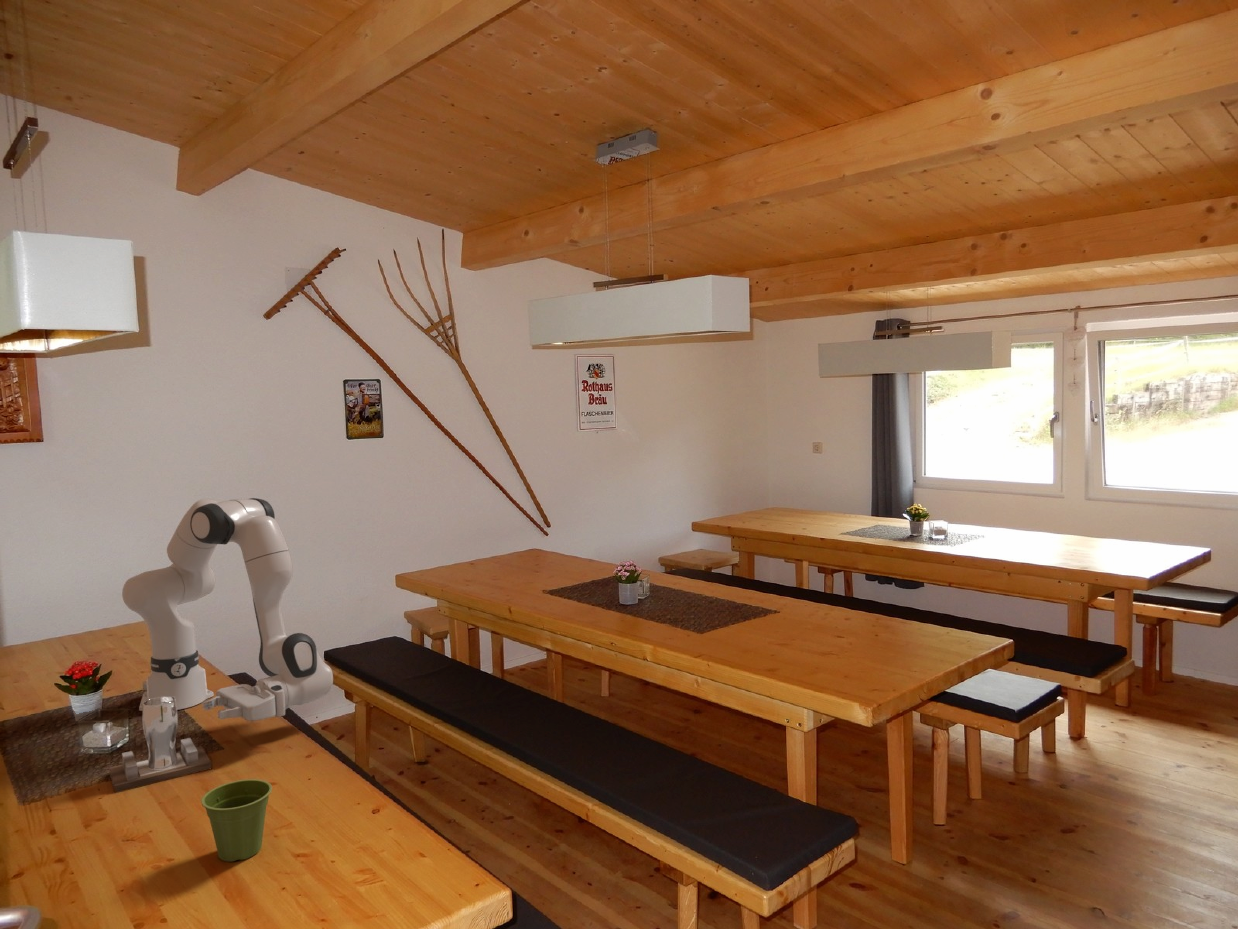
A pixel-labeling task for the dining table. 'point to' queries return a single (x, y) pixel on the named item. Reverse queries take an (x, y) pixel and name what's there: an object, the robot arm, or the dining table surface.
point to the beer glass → (160, 731)
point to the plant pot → (238, 817)
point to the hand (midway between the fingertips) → (211, 711)
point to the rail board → (140, 775)
